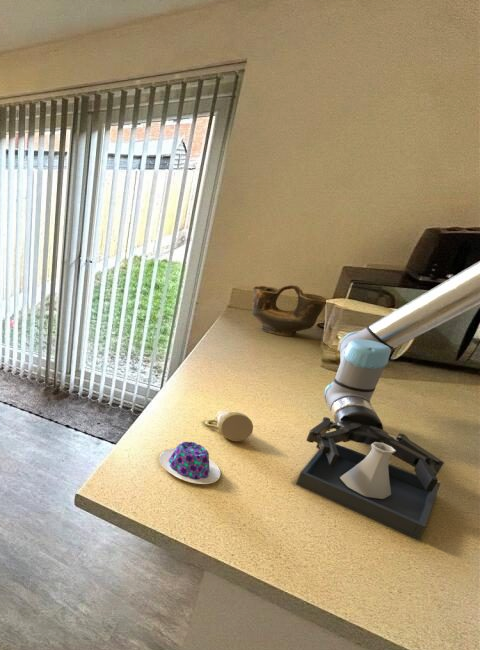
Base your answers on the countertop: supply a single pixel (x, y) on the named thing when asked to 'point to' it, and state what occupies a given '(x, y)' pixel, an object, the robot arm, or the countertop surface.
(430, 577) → the countertop surface
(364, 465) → the flask
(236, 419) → the mug
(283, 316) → the pottery vessel
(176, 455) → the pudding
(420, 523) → the tray
